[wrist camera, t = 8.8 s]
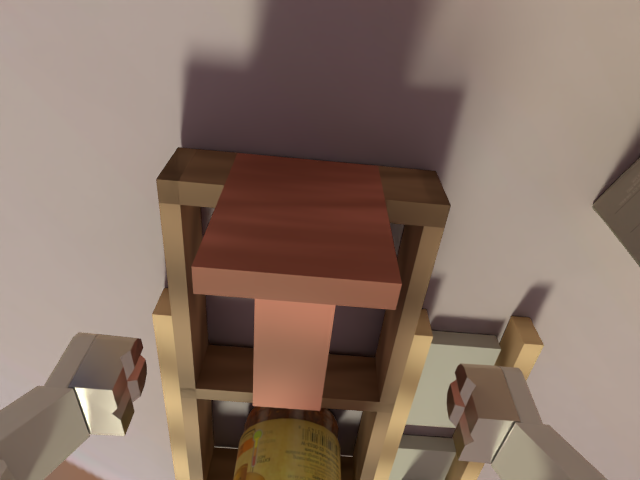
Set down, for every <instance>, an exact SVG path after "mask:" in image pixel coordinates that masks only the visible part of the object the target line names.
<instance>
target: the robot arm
mask: <svg viewBox="0 0 640 480" xmlns="http://www.w3.org/2000/svg"><path fill="white" fill-rule="evenodd" d="M142 349H143V345H142V341H141V339H139V338H131V337H121V336H112V335H102V334H91V333H80V332H79V333H78V334H77V335H75V336H74V337H73V338H72V340H71V342H70V343H69V345H68V347H67V348H66V350H65V352H64V353H63V355H62V357H61V358H60V360H59V362H58V363H57V365H56V367H55V368H54V370H53V372H52V373H51V375H50V377H49V378H48V380H47V382H46V383H45V385H44V386H37V387H35V388H34V389H32V390H31V391H29V392H28V393H26V394H25V395H23V396H21V397H20V398H18V399H17V400H15V401H14V402H12V403H11V404H9V405H8V406H6V407H5V408H3V409H2V410H0V480H44V479H45V478H46V477H47V476H48V475H49V474H50V473H51V472H52V471H53V470H54V469H55V468H56V467H58V466H59V464H61V463H62V462H63V461H64V460H65V459H66V458H67V457H68V456H69V455H70V454H71V453H73V452H74V451H75V450H76V449H77V448H78V447H79V446H80V445H81V444H82V443H83V442H84V441H85V440H86V439H87V438H89V437H90V435H89V434H96V435H118V436H125V434H126V432H127V429H128V427H129V424H130V422H131V419H132V417H133V414H134V408H133V403H132V402H134V401H135V400H136V399H137V398H139V397H140V396H141V393H142V391H143V388H144V385H145V380H146V375H147V365H146V360H145V359H144V358H143V357H142V356H141V355H140V354H141V352H142ZM455 376H456V380H455V381H453V382H452V383H450V386H449V389H448V392H447V412H448V417H449V420H450V421H451V422H452V423H453V425H454V426H455V427H456V429H455V431H454V433H453V440H454V445H455V449H456V454H457V458H458V460H459V461H469V462H479V463H489V464H491V466H492V468H493V469H494V470H495V471H496V473H497V474H498V475H499V477H500V478H501V479H502V480H607V479H606V478H605V477H604V476H603V475H602V474H601V473H600V472H599V471H598V470H597V469H596V468H595V467H594V466H592V465H591V464H590V463H589V462H588V461H587V460H586V459H585V458H584V457H583V456H582V455H581V454H580V453H579V452H577V451H576V450H575V449H574V448H573V447H572V446H571V445H570V444H569V443H568V442H567V441H566V440H565V439H564V438H562V437H561V436H560V435H559V434H558V433H557V432H556V431H555V430H554V429H553V428H552V427H551V426H550V425H545V424H543V423H542V420H541V418H540V415H539V413H538V410H537V408H536V405H535V403H534V400H533V398H532V395H531V393H530V390H529V388H528V385H527V383H526V380H525V378H524V375H523V373H522V371H521V370H520V369H519V368H514V367H502V366H493V365H478V364H463V363H460V364H459V365H458V366H457V368H456V371H455Z"/></svg>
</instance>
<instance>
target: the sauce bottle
mask: <svg viewBox="0 0 640 480" xmlns="http://www.w3.org/2000/svg"><path fill="white" fill-rule="evenodd" d="M337 438H338V425H337V421H336V420H335V417H334V416H333V414H332V413H331V412H330V411H329V410H328V409H326V408H321V409H320V411H315V410H301V409H288V408H274V407H260V406H256V407H254V408H253V410H252V411H251V412H250V414H249V415H248V418H247V420H246V423H245V425H244V433H243V435H242V436H241V438H240V441H239V447H238V454H237V460H236V466H235V472H234V478H233V480H341V462H340V445H339V442H338V439H337Z"/></svg>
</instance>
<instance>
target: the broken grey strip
mask: <svg viewBox="0 0 640 480" xmlns="http://www.w3.org/2000/svg"><path fill="white" fill-rule="evenodd" d="M432 334H433V339H432V342H431V345H430V348H429V352H428V355H427V358H426V361H425V364H424V368H423V371H422V374H421V377H420V380H419V383H418V387H417V390H416V393H415V396H414V399H413V403H412V406H411V409H410V412H409V415H408V419H407V422H406V424H407V425H421V426H435V427H448V428H456V427H455V426H454V425H453V423H452V422H451V421H450V420H449V417H448V412H447V392H448V389H449V386H450V383H452V382H453V381H455V380H456V376H455V371H456V368H457V366H458V365H459V364H460V363H463V364H478V365H493V366H494V365H495V362H496V360H497V358H498V355H499V353H500V351H501V348H500V345H499V343H498V340H497V338H496V336H493V335H481V334H468V333H456V332H443V331H432ZM455 455H456V449H455V445H454V440H453V438H442V437H428V436H414V435H402V438H401V441H400V444H399V447H398V451H397V454H396V457H395V460H394V463H393V467H392V470H391V473H390V476H389V479H388V480H445V478H446V475H447V473H448V471H449V468H450V466H451V464H452V462H453V459H454V457H455Z"/></svg>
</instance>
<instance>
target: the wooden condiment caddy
mask: <svg viewBox="0 0 640 480" xmlns="http://www.w3.org/2000/svg"><path fill="white" fill-rule="evenodd" d="M156 181H157V190H158V199H159V208H160V217H161V226H162V235H163V244H164V253H165V262H166V271H167V280H168V288H169V297H170V306H171V315H172V324H173V333H174V342H175V351H176V360H177V369H178V378H179V387H180V396H181V404H182V413H183V422H184V431H185V440H186V449H187V458H188V467H189V476H190V480H233V478H234V472H235V466H236V460H237V454H238V449H230V448H216V447H214V438H213V421H212V403H211V400H220V401H234V402H248V403H253V406H260V407H274V408H288V409H301V410H315V411H320V409H321V408H330V409H344V410H357V411H363V413H362V417H361V422H360V426H359V431H358V435H357V440H356V444H355V449H354V453H353V457H346V456H340V462H341V480H374V476H375V473H376V469H377V466H378V462H379V459H380V455H381V452H382V448H383V444H384V441H385V437H386V434H387V430H388V427H389V423H390V420H391V416H392V412H393V409H394V405H395V402H396V398H397V395H398V391H399V388H400V384H401V380H402V377H403V373H404V370H405V366H406V363H407V359H408V356H409V352H410V349H411V345H412V341H413V338H414V334H415V331H416V327H417V324H418V320H419V317H420V313H421V309H422V306H423V302H424V299H425V295H426V292H427V288H428V285H429V281H430V277H431V274H432V270H433V267H434V263H435V260H436V256H437V253H438V249H439V245H440V242H441V238H442V235H443V231H444V228H445V224H446V221H447V217H448V213H449V210H450V206H451V205H450V203H449V200H448V198H447V196H446V193H445V191H444V189H443V187H442V184H441V182H440V180H439V177H438V175H437V173H436V171H429V170H418V169H408V168H397V167H386V166H375V165H364V164H353V163H342V162H331V161H321V160H310V159H299V158H288V157H277V156H266V155H255V154H244V153H234V152H223V151H212V150H201V149H190V148H179V147H178V148H177V150H176V151H175V153H174V154H173V156H172V157H171V158H170V160H169V161H168V163H167V164H166V166H165V167H164V169H163V170H162V172H161V173H160V175H159V176H158V177H157V179H156ZM200 207H211V208H215V210H214V212H213V215H212V217H211V219H210V222H209V224H208V227H207V229H206V232H205V234H204V237H203V239H202V226H201V208H200ZM390 223H394V224H405V227H404V231H403V236H402V240H401V245H400V249H399V253H398V258H397V257H396V252H395V247H394V242H393V237H392V232H391V227H390ZM205 295H216V296H228V297H241V298H253V299H255V311H254V348H243V347H230V346H217V345H208V332H207V314H206V297H205ZM336 305H340V306H352V307H364V308H377V309H386V311H385V315H384V320H383V324H382V329H381V333H380V338H379V342H378V347H377V351H376V355H375V358H373V357H360V356H347V355H334V354H329V347H330V340H331V333H332V327H333V320H334V313H335V306H336Z"/></svg>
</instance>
